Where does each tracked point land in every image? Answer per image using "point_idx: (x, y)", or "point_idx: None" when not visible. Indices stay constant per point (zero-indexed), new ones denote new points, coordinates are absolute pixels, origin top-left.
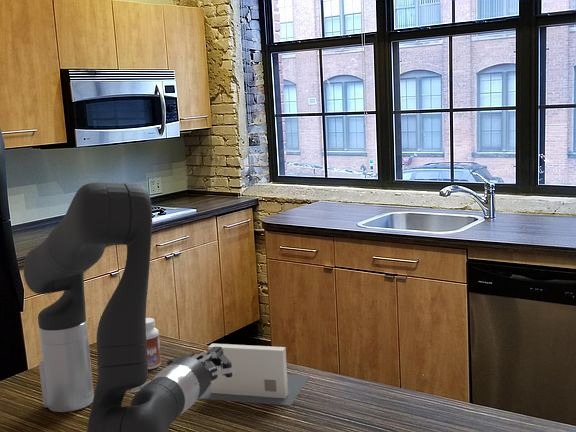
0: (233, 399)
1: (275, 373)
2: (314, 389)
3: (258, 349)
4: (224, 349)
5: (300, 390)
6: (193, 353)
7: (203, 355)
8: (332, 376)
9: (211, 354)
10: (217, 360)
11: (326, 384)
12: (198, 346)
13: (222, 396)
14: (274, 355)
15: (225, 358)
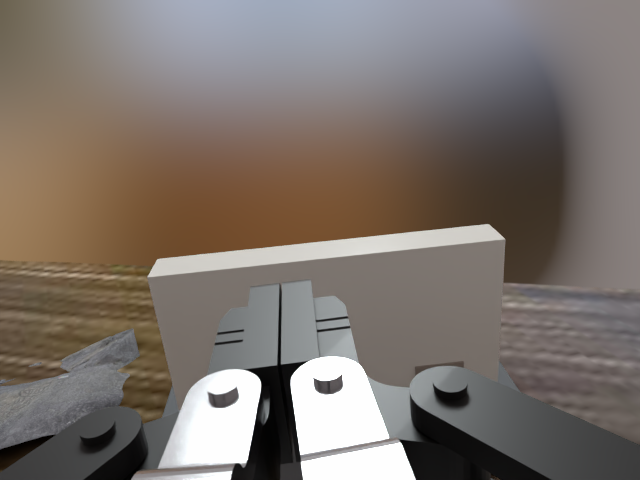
0: (301, 475)
1: (464, 336)
2: (521, 346)
3: (393, 251)
4: (229, 276)
5: (501, 364)
6: (91, 433)
7: (240, 443)
8: (507, 290)
9: (327, 399)
10: (429, 462)
11: (529, 320)
12: (84, 268)
13: None
14: (466, 265)
15: (623, 457)
